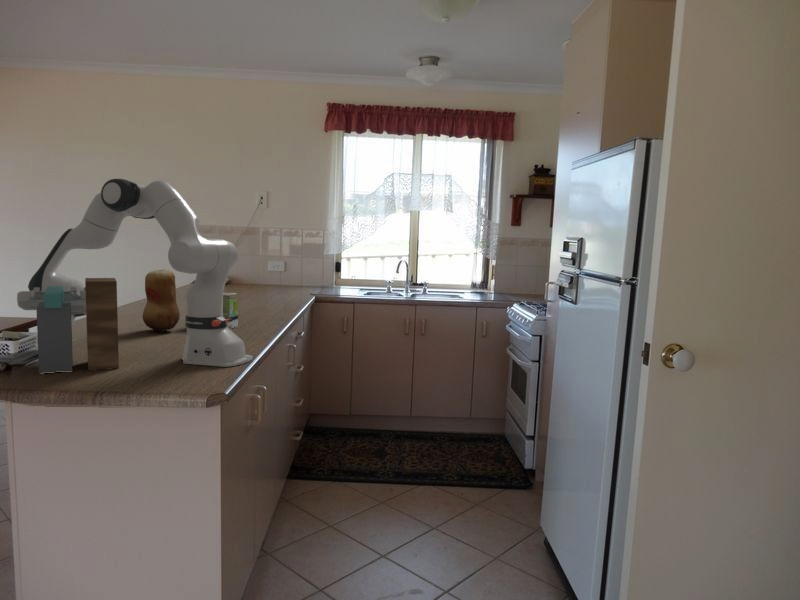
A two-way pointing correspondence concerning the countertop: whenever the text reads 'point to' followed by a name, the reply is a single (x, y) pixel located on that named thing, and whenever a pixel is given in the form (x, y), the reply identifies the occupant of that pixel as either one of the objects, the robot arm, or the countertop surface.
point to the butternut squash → (160, 301)
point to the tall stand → (102, 323)
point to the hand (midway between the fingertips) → (55, 289)
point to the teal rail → (54, 297)
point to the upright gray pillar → (54, 338)
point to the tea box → (231, 308)
